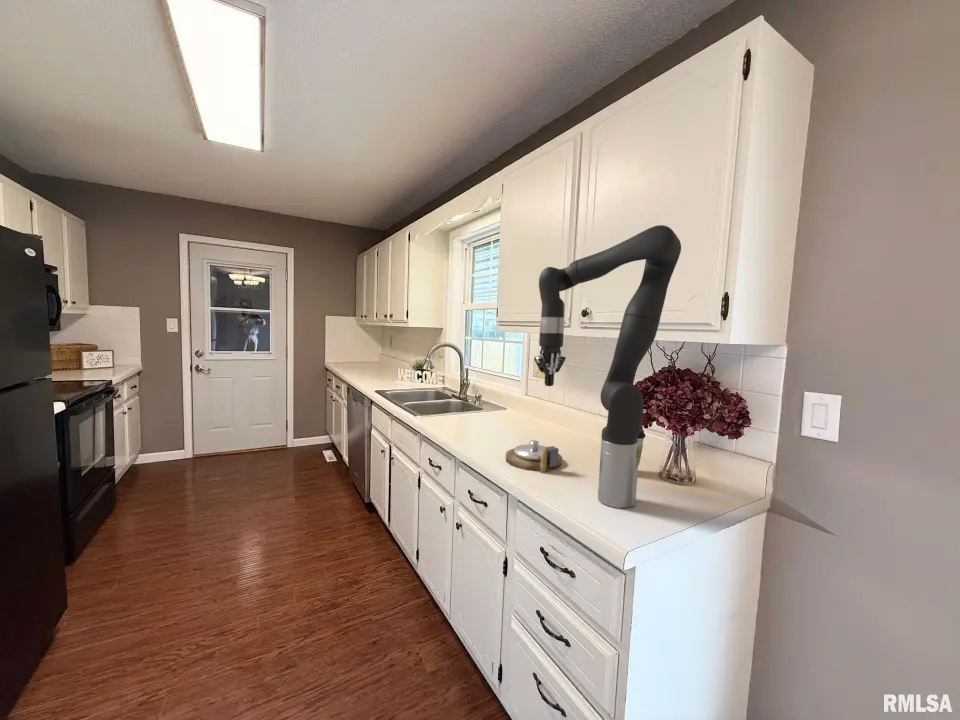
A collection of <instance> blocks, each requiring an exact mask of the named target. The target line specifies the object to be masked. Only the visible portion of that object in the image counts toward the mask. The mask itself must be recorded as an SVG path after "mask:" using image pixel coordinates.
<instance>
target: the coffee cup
mask: <svg viewBox="0 0 960 720" xmlns="http://www.w3.org/2000/svg"><path fill="white" fill-rule="evenodd" d="M645 438H646V434H645V430H644V429H643V430H641V431H640V433H639V435H638V437H637V449H636V464H635V470H636V471H637V472H638V471H639V470H638V469H639V465H640V463H641V458H642V452H643V447H644V439H645Z"/></svg>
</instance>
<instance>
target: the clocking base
mask: <svg viewBox="0 0 960 720" xmlns="http://www.w3.org/2000/svg"><path fill="white" fill-rule="evenodd" d="M514 449H515V447H514V448H511V449H508V450H507V451H506V452H505V462H506V463H507V464H508V463H509V464H508V465H510V466H512V467H514V468H516V469H521V470H527V471H531V470H532V472H540V473H541V474H547V470H549V471H554V470H557V469H559V468H561V467H562V465H563V456H562V455H561V454H560V453H558V465H557V466H548V465H547V451H545V450H542V451H541V461H531V460H525V459H522V458H519V457H517V456H516V455H515V454H514ZM560 466H561V467H560Z"/></svg>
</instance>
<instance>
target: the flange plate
mask: <svg viewBox="0 0 960 720" xmlns="http://www.w3.org/2000/svg"><path fill="white" fill-rule="evenodd" d="M539 444H540V443H539V441H538V440H533V439H531V440H530V442H529V444H521V445H517V446H515V447H514V448H515V449H514V448H513V449H514V454H515V455H516V456H517V457H519V458H522V459H525V460H531V461H541V451H542V450H545V451H547V465H548V466H557V465H558V454H559V450H560V449H559V448H558V447H555V446H544V445H539Z"/></svg>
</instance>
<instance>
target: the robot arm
mask: <svg viewBox="0 0 960 720" xmlns="http://www.w3.org/2000/svg"><path fill="white" fill-rule="evenodd" d="M681 252H682V244H681V240H680V239H679V237H678V236H677V234H676V233H675V231H673V229H672V228H670V227H669V226H666V225H664V224H663V225H662V224H659V225H654V226H652V227H649V228H647V229H645V230H643V231H641V232H639V233H637V234H636V235H634V236H631V237H629V238H627V239H626V240H623V241H622V242H619V243H617V244H615V245H613V246H611V247H609V248H607V249H606V248H605V249H604V250H602V251H599V252H596V253H594V254H591V255H588V256H585V257H582V258H579V259H576V260H574V261H572V262H570V264H569V265H568V266H567V267H563V268H561V269H560V268H557V267H553V266H548V267H545V268H544V269H543V270H542V271H541V272H540V274H539V277H538V288H539V296H540V301H541V315H540V323H539V341H538V344H539V347H540V351H539V355H538V356H535V357H534V361H535V363H536V366H537V368H538V370H539V372H540V373H543V374H544V386H545V387H553V386H554V383H555V374H556V373H559V372H560V370H561V368H562V367H563V365H564V363H565V361H566V359H567V358H566V356H563V355H562V351H561V348H563V346H564V332H565V322H564V321H565V319H564V316H565V313H564V312H565V302H564V300H563V299H562V298H561V295H560V294H561V293H560V292H564V291H566V290H567V291H568V290H569V289H571V288H573V287H575V286H577V285H579V284H583V283H588V282H590V281H593V280H594V281H595V280H596V279H597V280H598V279H600V278H603V277H604V276H606V275H608V274H609V273H611V272H612V271H614V270H616V269H618V268H619V267H621V266H624V265H625V264H629V263H632V262H637V261H644V260H645V264H644V269H643V273H642V277H641V280H640V284H639V285H638V288H637V289H636V291H635V293H634V294H633V296H632V297H631V298H630V300H629V302H628V303H627V305H626V308H625V311H624V314H623V317H622V321H621V325H620V329H619V333H618V336H617V337H618V338H617V341H616V346H615V349H614V353H613V358H612V362H611V365H610V367H609V370H608V373H607V376H606V378H605V380H604V383H603V385H602V388H601V391H600V403H601V405H602V407H603V408H604V409H605V410H606V411H607V419H606V420H607V422H606V426H604V427H603V428H602V429H601V443H600V457H599V473H598V490H597V500H598V501H599V502H600V503H601V504H604V505H605V506H608V507H612V508H618V509H625V508H626V509H627V508H631V507H636V501H637V499H636V498H637V489H638V488H637V485H638V484H637V483H638V471H636V470H635V464H636V449H637V437H638V435H639V433H640V431H641V429H642V422H643V414H644V397H643V393H642V391H641V390H640V389H639V388H638V387H637V386H635V385H634V383H635V382H634V381H635V379H636V378H635V377H636V373H637V370H638V367H639V365H640V364H641V362H642V361H643V359H644V357H645V355H647V353H648V351H649V350H650V348H651V346H652V345H653V344H654V341H655V339H656V335H657V332H658V329H659V327H660V326H659V325H660V322H661V316H662V312H663V308H664V305H665V300H666V295H667V292H668V288H669V284H670V281H671V278H672V276H673V274H674V271H675V268H676V266H677V263H678V261H679V259H680V256H681Z"/></svg>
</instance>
